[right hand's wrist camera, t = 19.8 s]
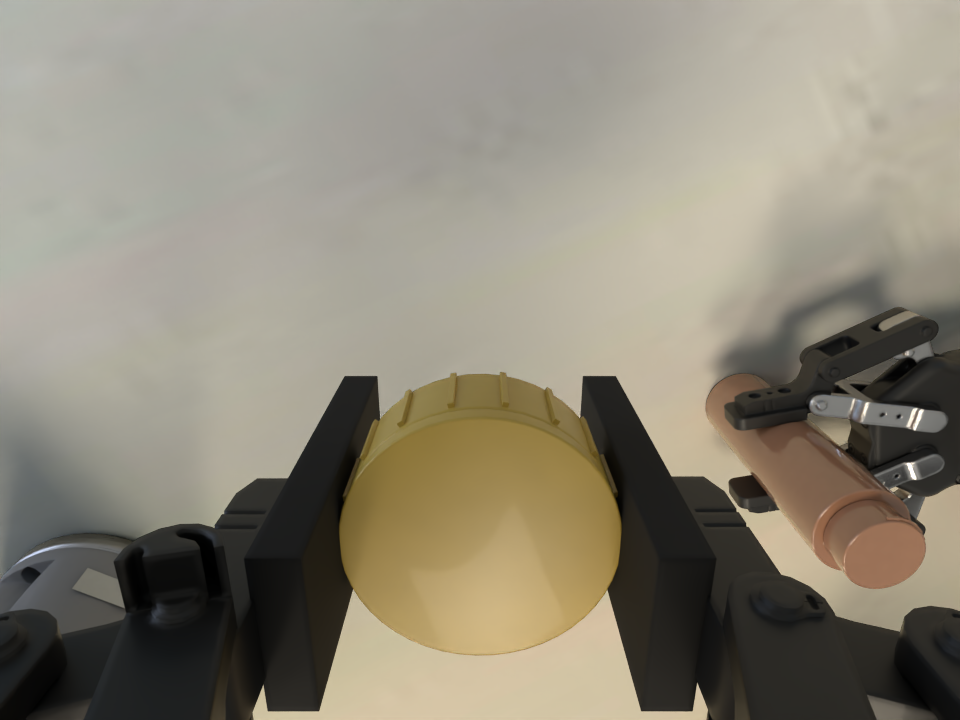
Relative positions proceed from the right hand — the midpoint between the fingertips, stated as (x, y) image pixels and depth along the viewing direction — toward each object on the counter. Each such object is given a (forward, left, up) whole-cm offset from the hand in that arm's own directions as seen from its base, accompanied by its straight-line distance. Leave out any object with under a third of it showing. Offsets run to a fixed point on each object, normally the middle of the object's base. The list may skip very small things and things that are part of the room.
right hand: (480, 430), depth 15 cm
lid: (0, 0, +4) cm, 4 cm away
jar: (-3, -19, -24) cm, 31 cm away
